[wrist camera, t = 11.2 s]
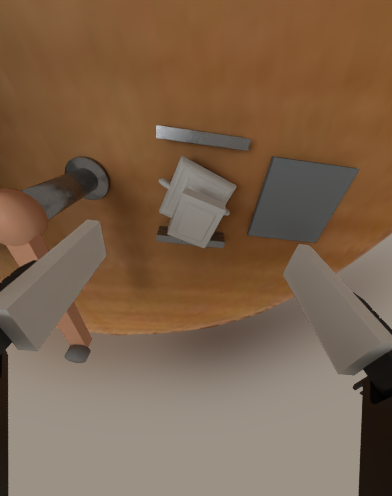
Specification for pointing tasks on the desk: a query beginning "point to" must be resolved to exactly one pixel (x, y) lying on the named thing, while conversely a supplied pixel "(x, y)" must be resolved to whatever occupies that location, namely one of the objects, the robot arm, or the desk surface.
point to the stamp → (195, 202)
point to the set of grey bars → (97, 181)
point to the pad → (299, 199)
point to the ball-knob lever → (33, 248)
